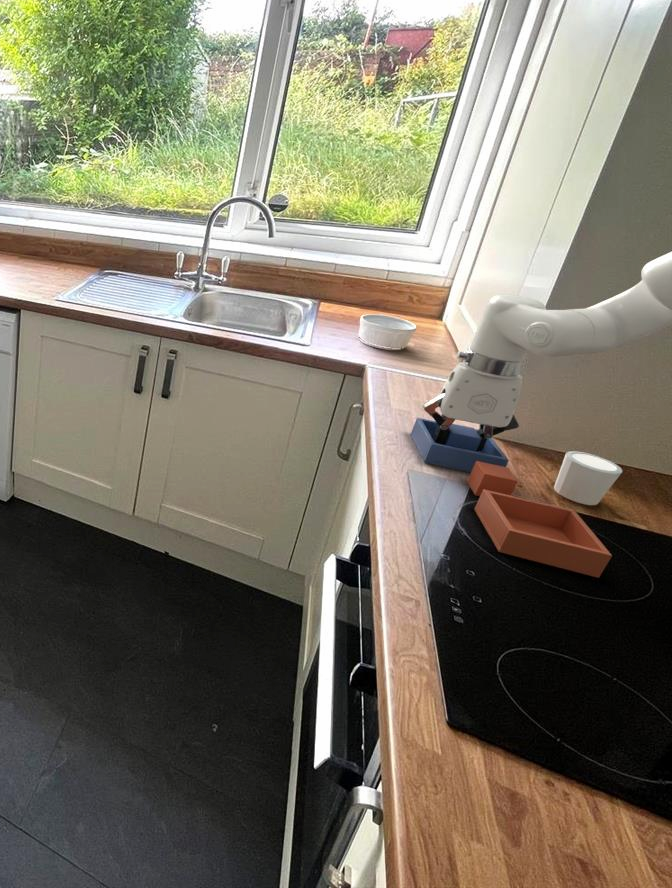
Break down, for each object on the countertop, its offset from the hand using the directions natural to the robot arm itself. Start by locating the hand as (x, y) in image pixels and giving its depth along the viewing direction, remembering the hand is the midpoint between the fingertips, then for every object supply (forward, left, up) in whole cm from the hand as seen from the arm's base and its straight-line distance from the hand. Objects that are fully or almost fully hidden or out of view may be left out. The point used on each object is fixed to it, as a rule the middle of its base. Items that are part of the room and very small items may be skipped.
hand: (455, 448), depth 112 cm
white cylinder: (-5, -16, -2) cm, 17 cm away
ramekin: (+66, +1, -2) cm, 66 cm away
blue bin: (0, 0, -2) cm, 2 cm away
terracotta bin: (-25, -4, -2) cm, 25 cm away
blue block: (0, 0, -1) cm, 1 cm away
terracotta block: (-12, -2, -2) cm, 12 cm away
